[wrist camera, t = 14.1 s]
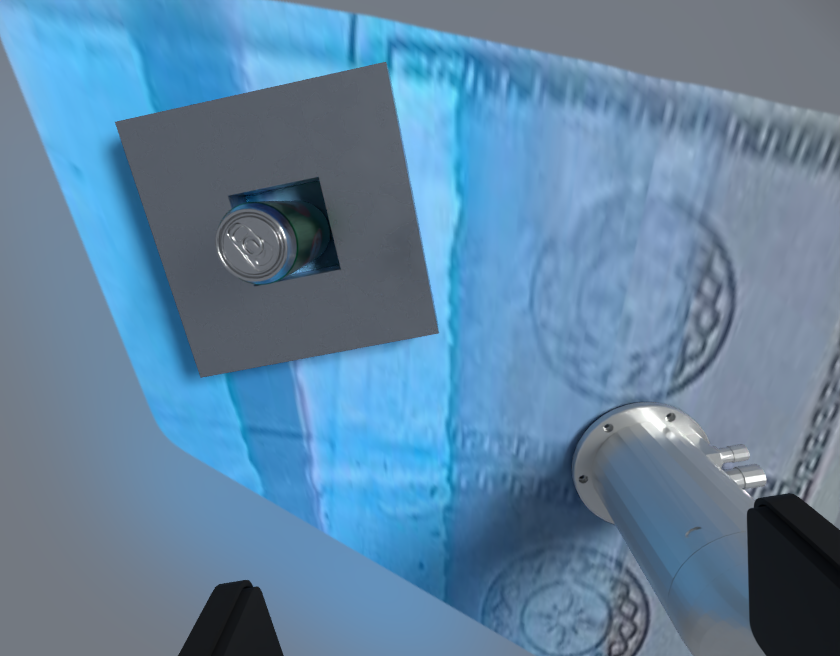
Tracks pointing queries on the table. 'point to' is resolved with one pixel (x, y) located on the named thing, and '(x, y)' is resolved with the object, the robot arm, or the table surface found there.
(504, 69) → the table surface
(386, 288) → the bore block
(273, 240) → the soda can
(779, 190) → the table surface
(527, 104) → the table surface
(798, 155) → the table surface
